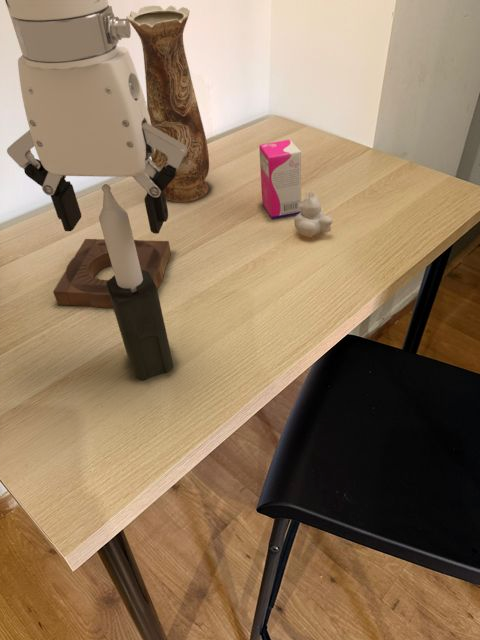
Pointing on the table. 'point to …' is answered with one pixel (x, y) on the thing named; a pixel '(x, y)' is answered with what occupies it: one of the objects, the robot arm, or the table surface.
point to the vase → (172, 97)
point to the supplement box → (280, 178)
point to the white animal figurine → (312, 217)
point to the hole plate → (95, 257)
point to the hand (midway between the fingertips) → (115, 225)
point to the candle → (134, 296)
